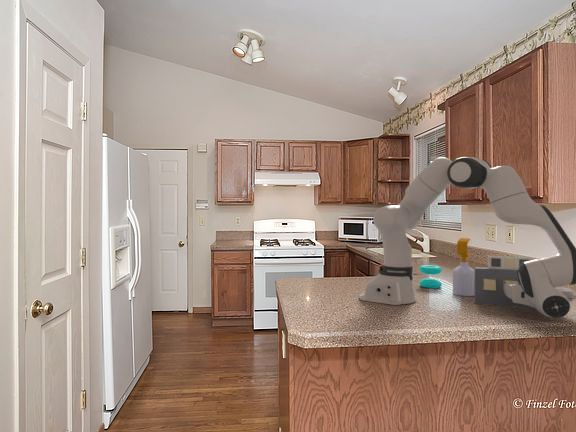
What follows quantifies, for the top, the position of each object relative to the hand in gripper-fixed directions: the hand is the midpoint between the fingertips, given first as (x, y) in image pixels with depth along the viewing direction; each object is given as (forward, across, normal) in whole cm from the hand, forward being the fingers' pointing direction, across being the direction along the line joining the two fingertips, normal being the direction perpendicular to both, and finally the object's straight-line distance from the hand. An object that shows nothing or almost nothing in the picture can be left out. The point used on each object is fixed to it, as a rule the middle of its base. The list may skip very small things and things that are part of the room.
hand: (532, 287), depth 136 cm
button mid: (+1, +7, +2) cm, 7 cm away
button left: (+4, +14, +2) cm, 14 cm away
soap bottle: (+18, +22, +8) cm, 29 cm away
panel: (+3, +7, +8) cm, 11 cm away
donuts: (+30, +36, +8) cm, 47 cm away
